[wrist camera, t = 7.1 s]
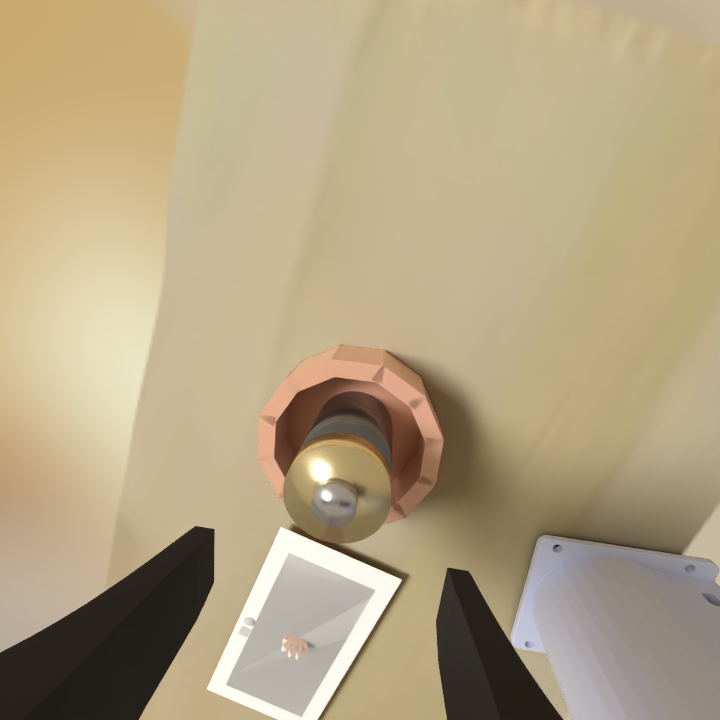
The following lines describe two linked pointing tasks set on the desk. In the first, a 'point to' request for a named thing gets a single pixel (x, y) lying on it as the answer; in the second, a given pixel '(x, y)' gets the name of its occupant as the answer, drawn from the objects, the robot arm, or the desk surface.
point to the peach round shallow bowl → (368, 375)
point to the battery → (343, 471)
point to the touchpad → (300, 628)
